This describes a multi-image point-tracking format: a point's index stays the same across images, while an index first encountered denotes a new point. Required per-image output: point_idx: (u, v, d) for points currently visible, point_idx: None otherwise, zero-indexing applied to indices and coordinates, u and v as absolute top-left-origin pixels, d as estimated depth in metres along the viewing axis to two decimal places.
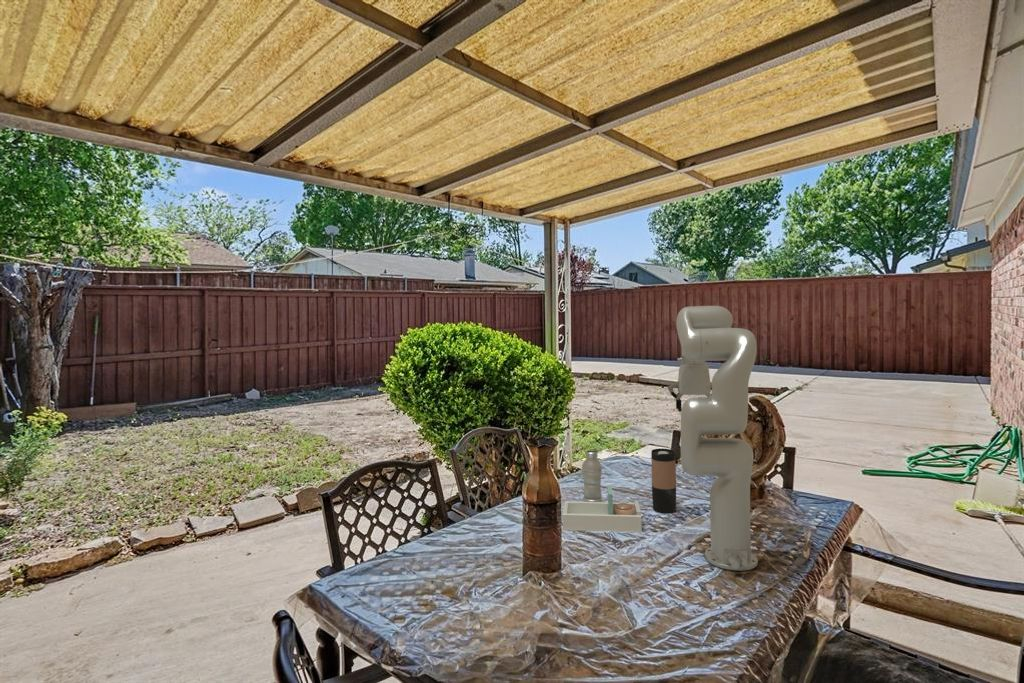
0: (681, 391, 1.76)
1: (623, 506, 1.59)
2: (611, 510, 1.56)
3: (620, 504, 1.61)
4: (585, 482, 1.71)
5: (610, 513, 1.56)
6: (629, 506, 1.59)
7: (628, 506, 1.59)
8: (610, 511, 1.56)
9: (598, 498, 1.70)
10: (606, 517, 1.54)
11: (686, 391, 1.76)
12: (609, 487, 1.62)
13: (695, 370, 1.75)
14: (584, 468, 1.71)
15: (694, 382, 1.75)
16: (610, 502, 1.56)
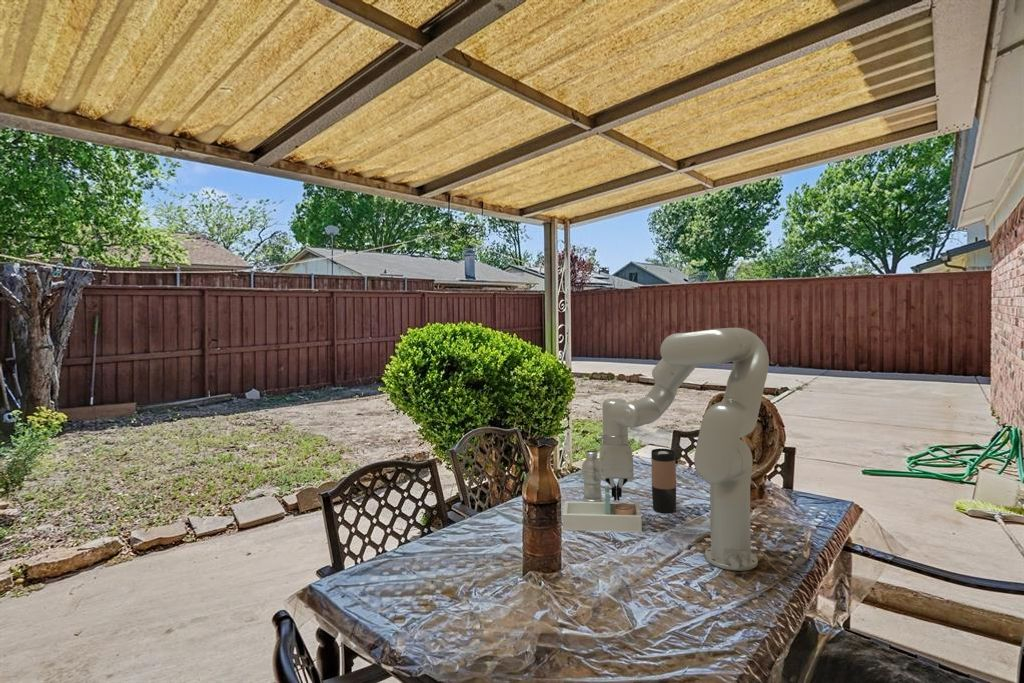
0: (601, 474, 1.58)
1: (623, 506, 1.59)
2: (608, 510, 1.56)
3: (620, 504, 1.61)
4: (585, 482, 1.71)
5: (607, 513, 1.56)
6: (629, 506, 1.59)
7: (628, 506, 1.59)
8: (607, 511, 1.56)
9: (598, 498, 1.70)
10: (606, 517, 1.54)
11: (606, 474, 1.57)
12: (606, 487, 1.62)
13: (616, 451, 1.56)
14: (584, 468, 1.71)
15: (615, 464, 1.57)
16: (608, 502, 1.56)
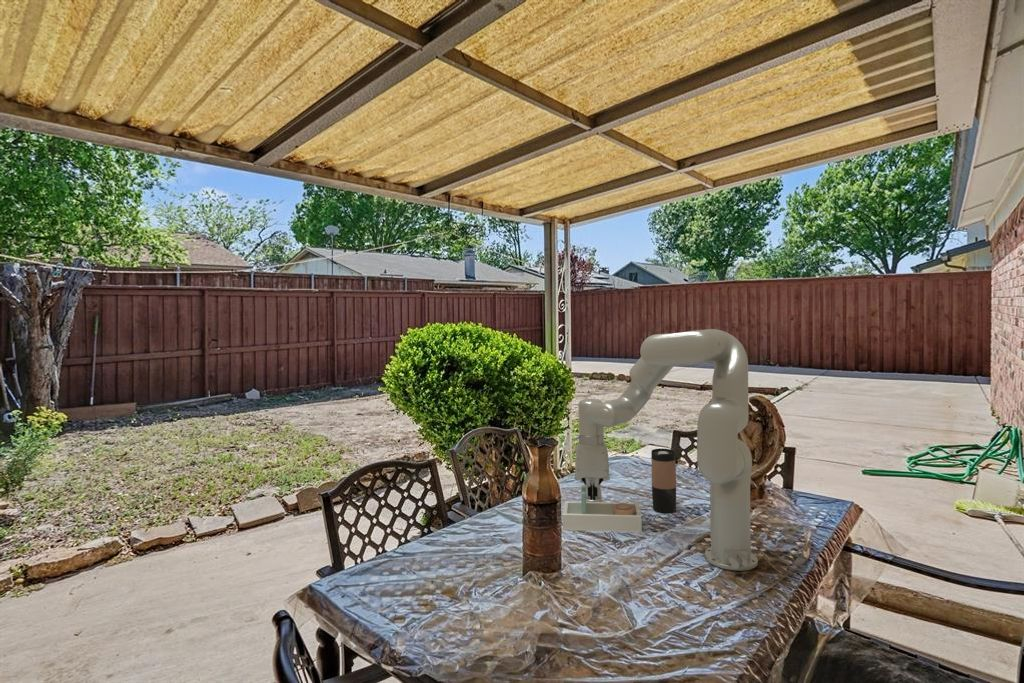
0: (577, 474, 1.59)
1: (623, 506, 1.59)
2: (584, 509, 1.57)
3: (620, 504, 1.61)
4: None
5: (583, 512, 1.57)
6: (629, 506, 1.59)
7: (628, 506, 1.59)
8: (583, 510, 1.57)
9: (598, 498, 1.70)
10: (606, 517, 1.54)
11: (582, 474, 1.58)
12: (583, 487, 1.63)
13: (591, 451, 1.58)
14: None
15: (591, 464, 1.58)
16: (583, 502, 1.57)
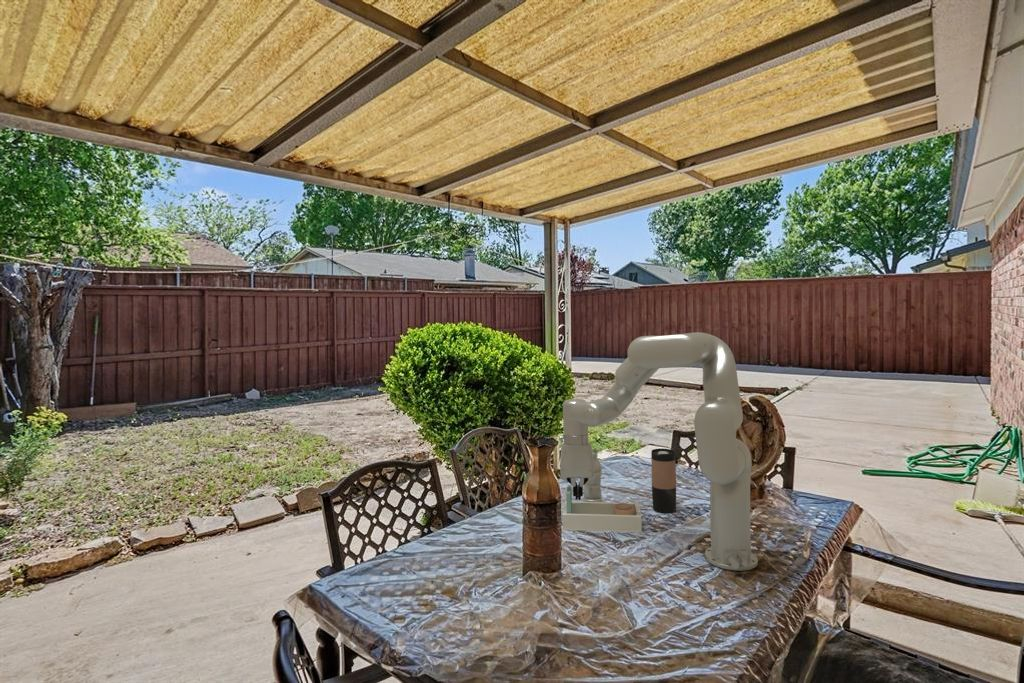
0: (562, 473, 1.59)
1: (623, 506, 1.59)
2: (569, 509, 1.58)
3: (620, 504, 1.61)
4: None
5: (568, 512, 1.58)
6: (629, 506, 1.59)
7: (628, 506, 1.59)
8: (568, 510, 1.58)
9: (598, 498, 1.70)
10: (606, 517, 1.54)
11: (567, 474, 1.59)
12: (569, 486, 1.64)
13: (576, 451, 1.58)
14: None
15: (576, 464, 1.58)
16: (568, 501, 1.58)
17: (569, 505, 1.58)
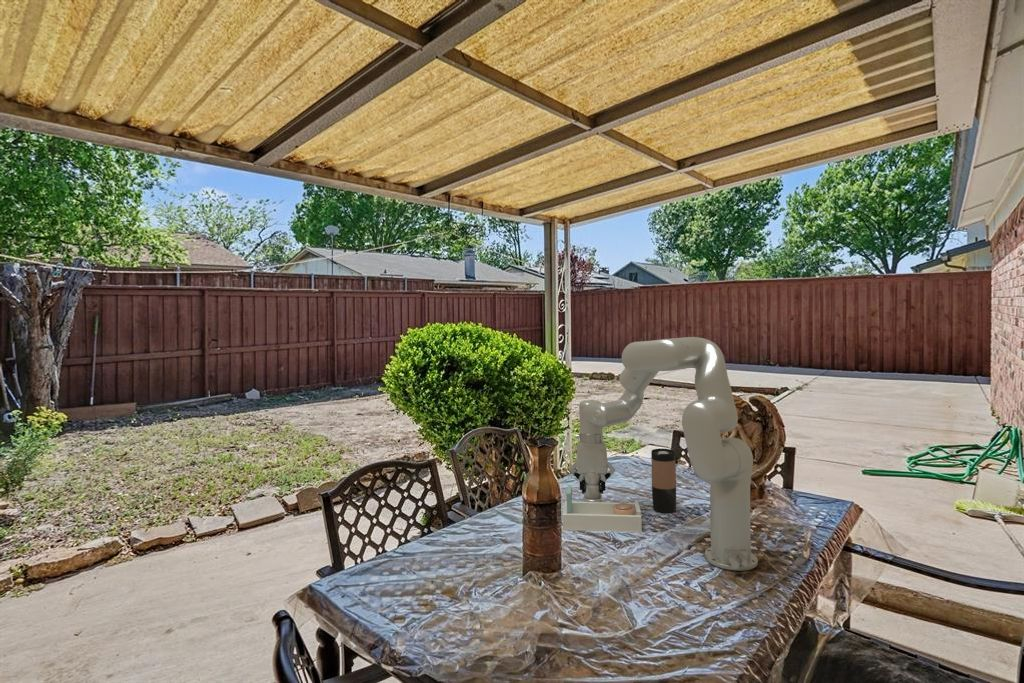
0: (578, 470, 1.71)
1: (623, 506, 1.59)
2: (569, 509, 1.58)
3: (620, 504, 1.61)
4: (585, 482, 1.71)
5: (568, 512, 1.58)
6: (629, 506, 1.59)
7: (628, 506, 1.59)
8: (568, 510, 1.58)
9: (598, 498, 1.70)
10: (606, 517, 1.54)
11: (583, 470, 1.70)
12: (569, 486, 1.64)
13: (591, 449, 1.69)
14: None
15: (591, 461, 1.70)
16: (568, 501, 1.58)
17: (569, 505, 1.58)
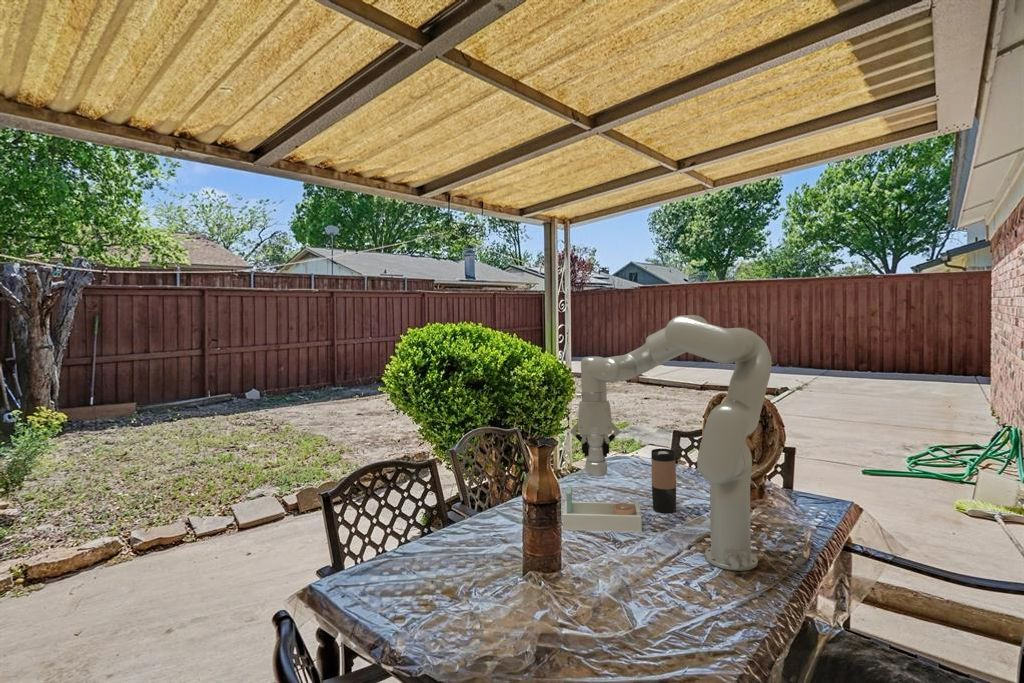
0: (580, 431, 1.58)
1: (623, 506, 1.59)
2: (569, 509, 1.58)
3: (620, 504, 1.61)
4: (588, 444, 1.59)
5: (568, 512, 1.58)
6: (629, 506, 1.59)
7: (628, 506, 1.59)
8: (568, 510, 1.58)
9: (602, 461, 1.58)
10: (606, 517, 1.54)
11: (585, 431, 1.58)
12: (569, 486, 1.64)
13: (594, 408, 1.57)
14: None
15: (594, 421, 1.57)
16: (568, 501, 1.58)
17: (569, 505, 1.58)
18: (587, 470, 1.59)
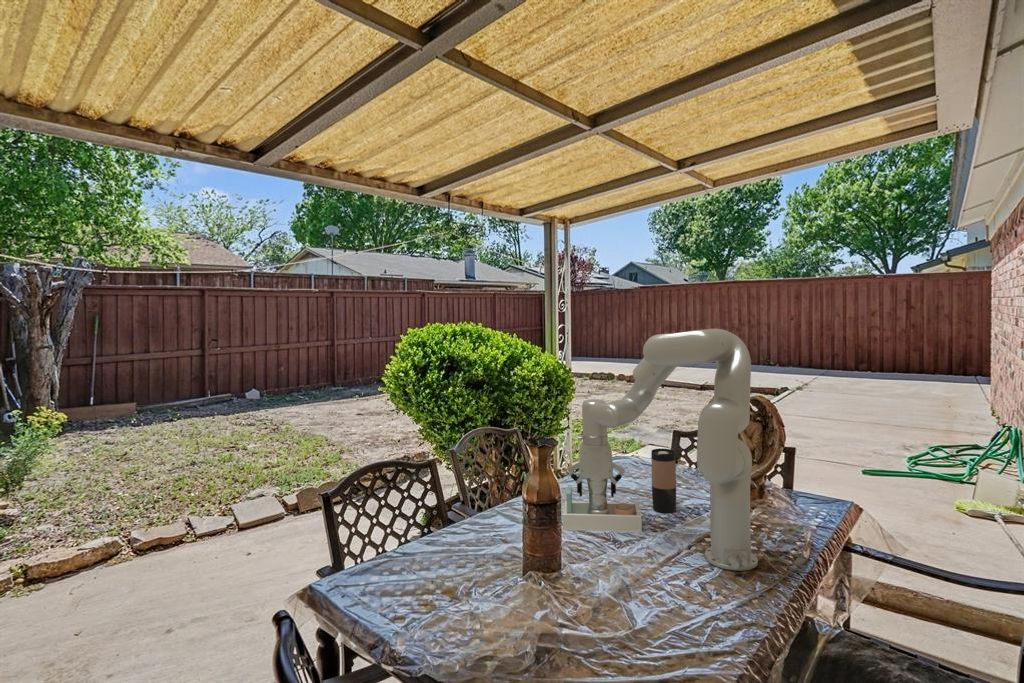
0: (581, 474, 1.58)
1: (623, 506, 1.59)
2: (569, 509, 1.58)
3: (620, 504, 1.61)
4: (590, 491, 1.59)
5: (568, 512, 1.58)
6: (629, 506, 1.59)
7: (628, 506, 1.59)
8: (568, 510, 1.58)
9: (604, 509, 1.58)
10: (606, 517, 1.54)
11: (586, 475, 1.58)
12: (569, 486, 1.64)
13: (595, 452, 1.57)
14: None
15: (595, 465, 1.57)
16: (568, 501, 1.58)
17: (569, 505, 1.58)
18: None
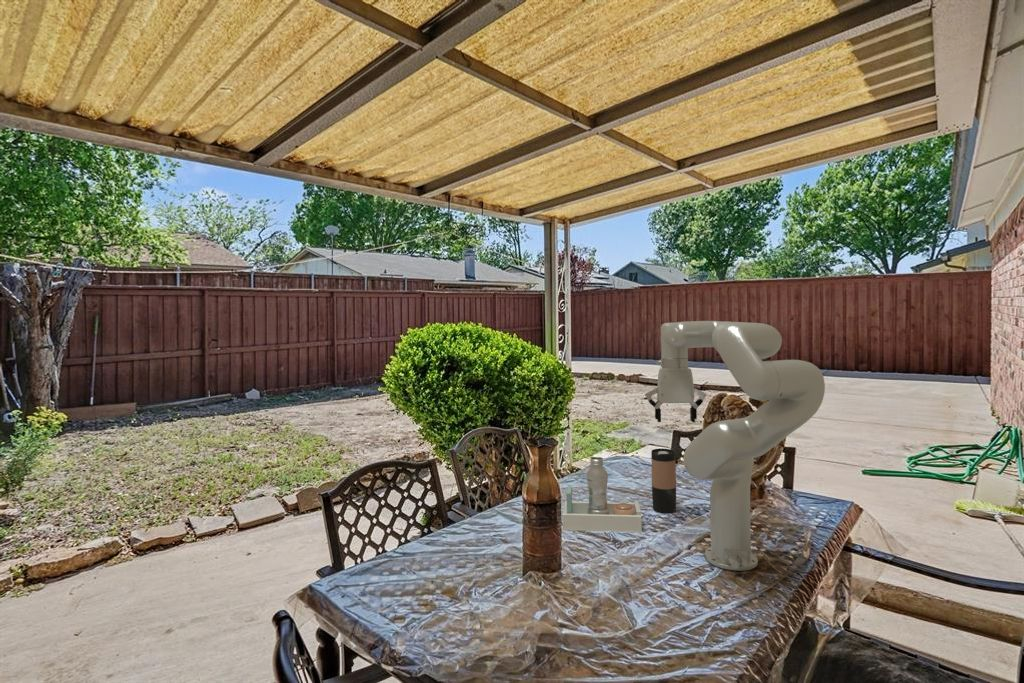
0: (660, 399, 1.53)
1: (623, 506, 1.59)
2: (569, 509, 1.58)
3: (620, 504, 1.61)
4: (590, 491, 1.59)
5: (568, 512, 1.58)
6: (629, 506, 1.59)
7: (628, 506, 1.59)
8: (568, 510, 1.58)
9: (604, 509, 1.58)
10: (606, 517, 1.54)
11: (666, 399, 1.53)
12: (569, 486, 1.64)
13: (676, 375, 1.52)
14: (589, 476, 1.59)
15: (676, 388, 1.52)
16: (568, 501, 1.58)
17: (569, 505, 1.58)
18: None
